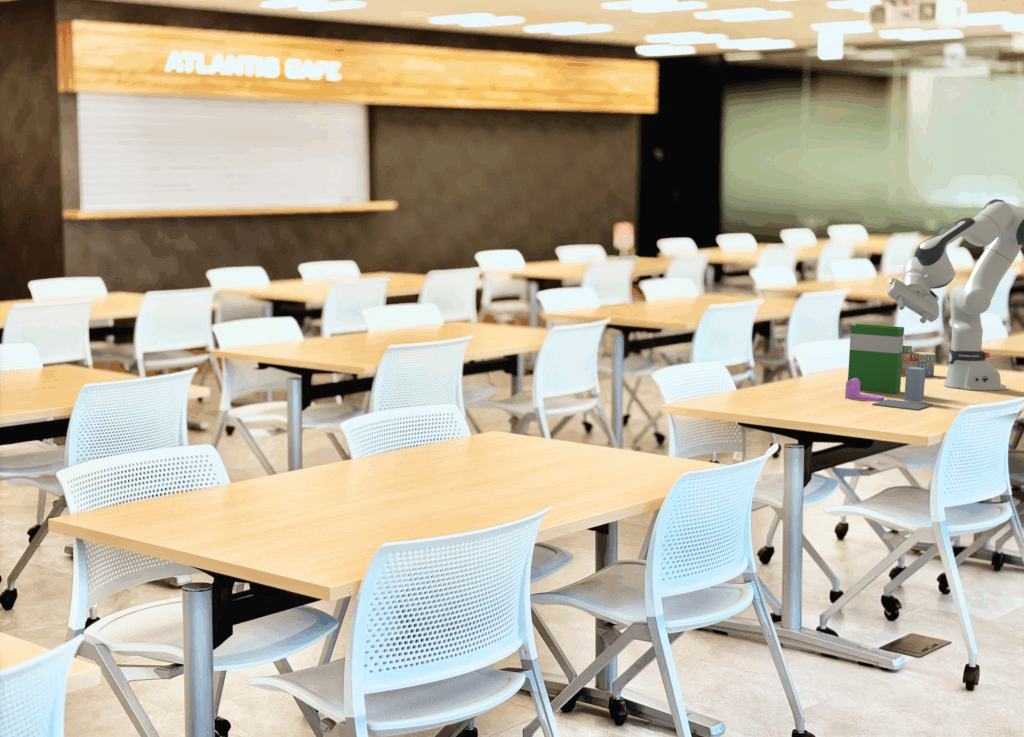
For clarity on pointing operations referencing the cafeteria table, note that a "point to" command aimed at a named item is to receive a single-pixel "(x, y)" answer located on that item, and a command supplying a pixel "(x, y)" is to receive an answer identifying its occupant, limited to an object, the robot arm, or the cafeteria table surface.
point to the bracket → (854, 391)
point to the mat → (902, 404)
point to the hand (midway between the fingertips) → (912, 314)
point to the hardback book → (876, 357)
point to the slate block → (914, 384)
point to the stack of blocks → (917, 360)
